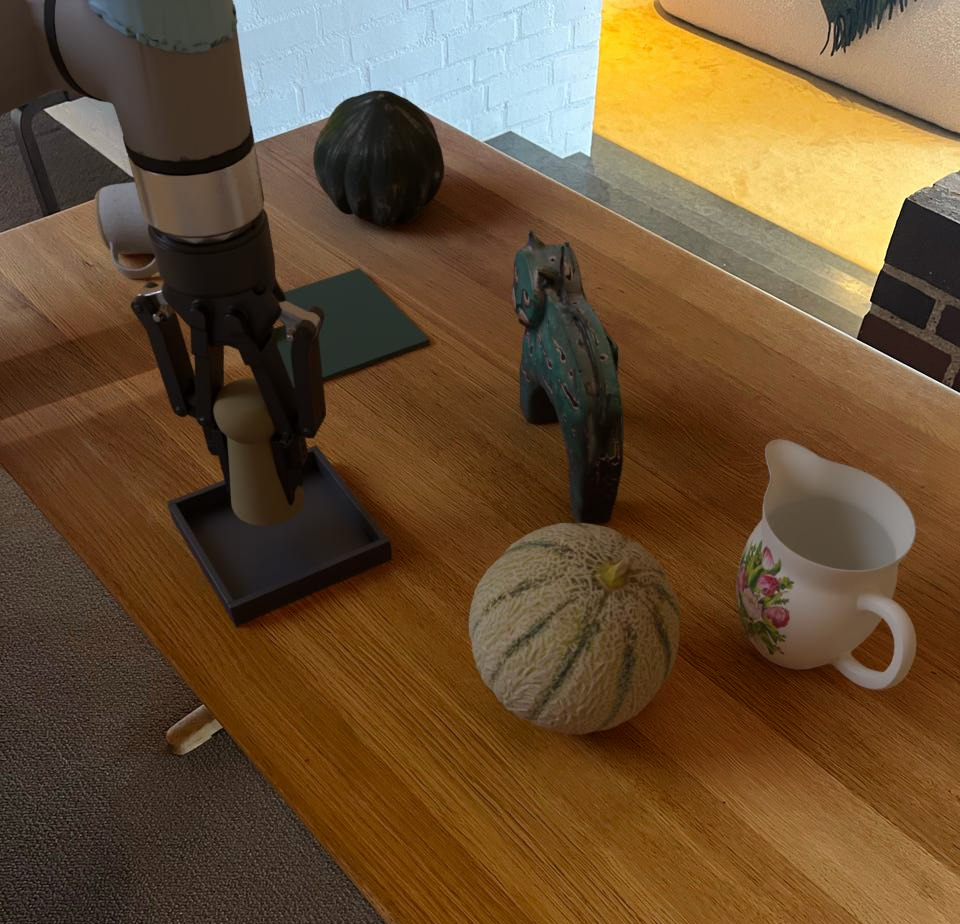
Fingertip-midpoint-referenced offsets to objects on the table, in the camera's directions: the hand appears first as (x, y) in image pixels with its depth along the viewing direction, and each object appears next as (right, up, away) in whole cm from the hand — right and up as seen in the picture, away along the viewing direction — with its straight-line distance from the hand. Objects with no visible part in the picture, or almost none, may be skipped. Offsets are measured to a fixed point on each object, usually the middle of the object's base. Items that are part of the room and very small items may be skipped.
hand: (265, 487), depth 81 cm
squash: (+6, +40, +40) cm, 57 cm away
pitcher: (+43, -13, -3) cm, 45 cm away
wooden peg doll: (0, -1, +1) cm, 2 cm away
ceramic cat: (+25, +4, +11) cm, 28 cm away
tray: (0, -4, +4) cm, 6 cm away
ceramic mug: (-21, +32, +33) cm, 50 cm away
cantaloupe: (+24, -16, -5) cm, 30 cm away
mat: (+1, +20, +24) cm, 31 cm away
